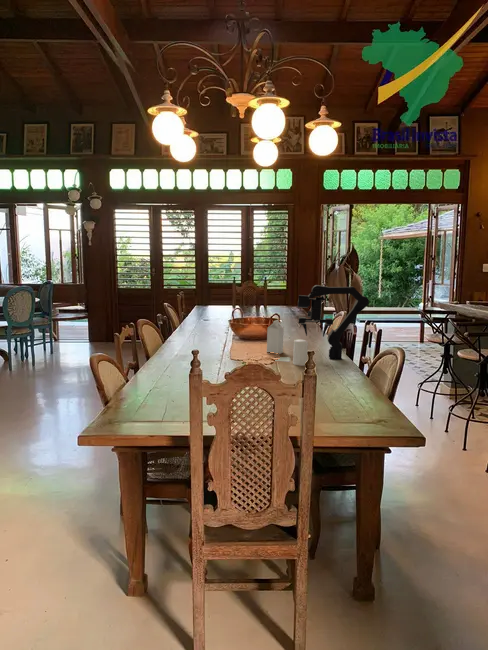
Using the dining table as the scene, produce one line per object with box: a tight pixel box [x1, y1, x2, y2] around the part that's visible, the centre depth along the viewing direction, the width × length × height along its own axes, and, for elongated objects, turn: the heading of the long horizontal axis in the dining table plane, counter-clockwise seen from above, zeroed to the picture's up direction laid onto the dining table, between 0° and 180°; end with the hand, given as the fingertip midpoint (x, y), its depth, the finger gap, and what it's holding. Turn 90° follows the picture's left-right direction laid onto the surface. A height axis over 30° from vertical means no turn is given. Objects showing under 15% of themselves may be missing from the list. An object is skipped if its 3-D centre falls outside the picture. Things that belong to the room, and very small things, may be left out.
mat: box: [274, 356, 291, 362], centre depth 266 cm, size 10×10×1 cm
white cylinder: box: [292, 339, 309, 367], centre depth 255 cm, size 7×7×12 cm
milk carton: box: [266, 319, 285, 355], centre depth 280 cm, size 7×7×19 cm
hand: (314, 336), depth 272 cm, fingers open, 9 cm apart
